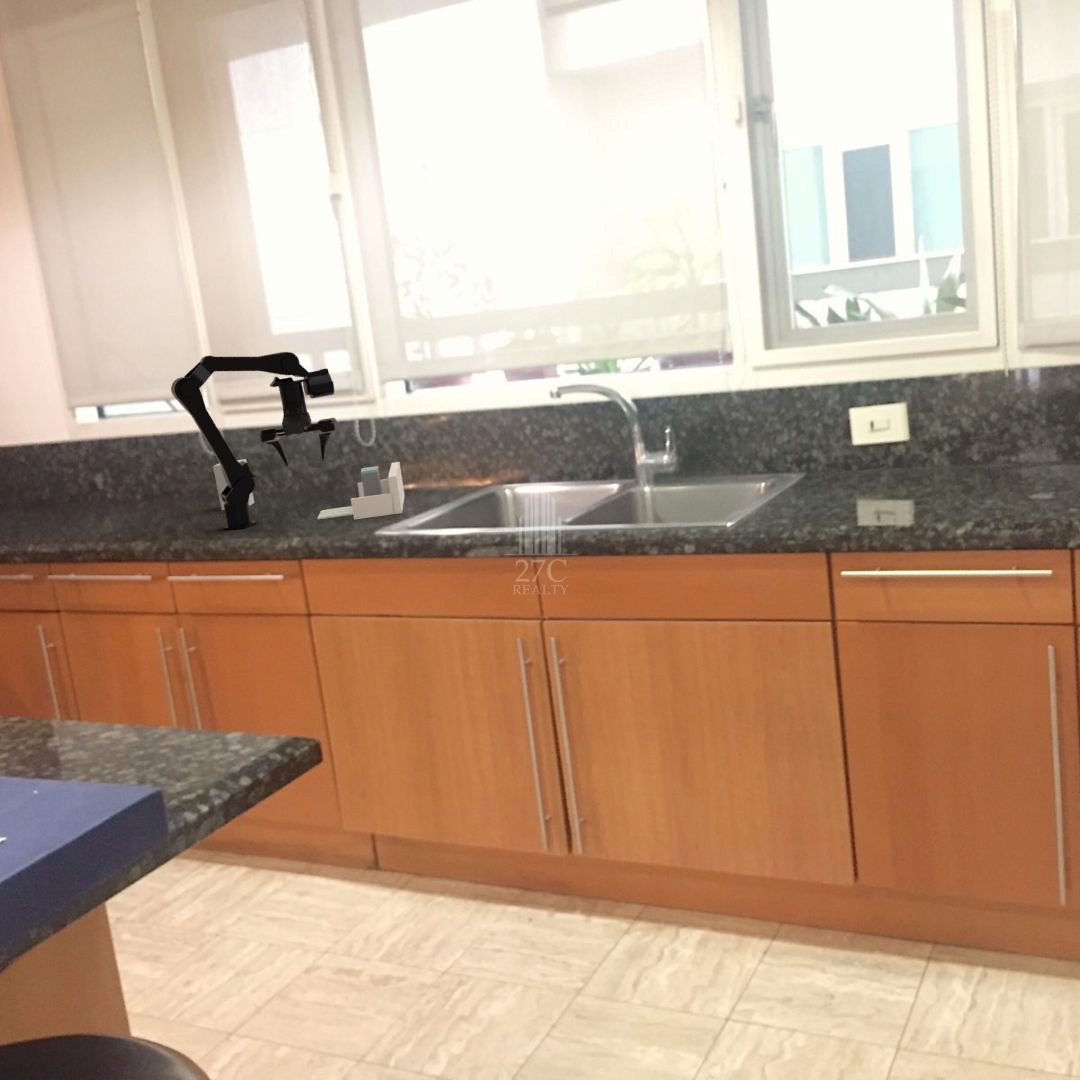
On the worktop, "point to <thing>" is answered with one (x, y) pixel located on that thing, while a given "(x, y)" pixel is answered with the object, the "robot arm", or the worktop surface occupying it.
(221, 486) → the supplement box
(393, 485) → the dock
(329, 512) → the mat
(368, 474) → the grey teal block
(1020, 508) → the worktop surface
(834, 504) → the worktop surface
